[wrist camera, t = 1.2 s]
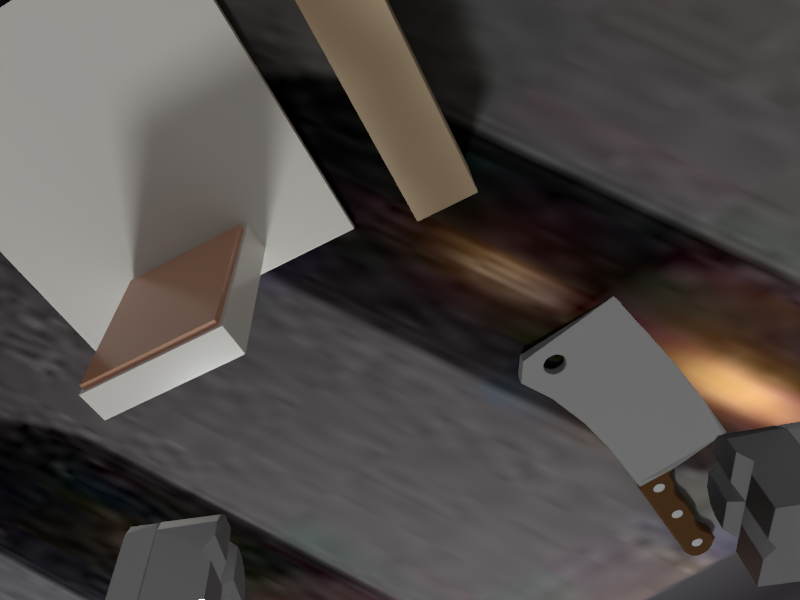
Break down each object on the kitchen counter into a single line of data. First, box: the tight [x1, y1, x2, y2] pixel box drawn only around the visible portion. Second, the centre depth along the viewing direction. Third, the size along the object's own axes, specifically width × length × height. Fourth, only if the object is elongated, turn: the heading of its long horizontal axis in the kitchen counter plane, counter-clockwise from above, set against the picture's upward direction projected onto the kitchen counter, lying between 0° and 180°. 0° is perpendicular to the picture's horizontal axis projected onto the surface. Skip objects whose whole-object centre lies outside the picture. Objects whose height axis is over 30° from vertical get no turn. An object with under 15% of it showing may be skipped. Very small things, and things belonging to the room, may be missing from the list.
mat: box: [0, 0, 354, 351], centre depth 33 cm, size 16×16×1 cm
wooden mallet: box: [295, 0, 478, 221], centre depth 29 cm, size 6×17×4 cm, turn 27°
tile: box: [79, 224, 265, 420], centre depth 32 cm, size 7×2×9 cm, turn 117°
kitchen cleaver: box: [518, 296, 726, 555], centre depth 46 cm, size 24×1×10 cm
